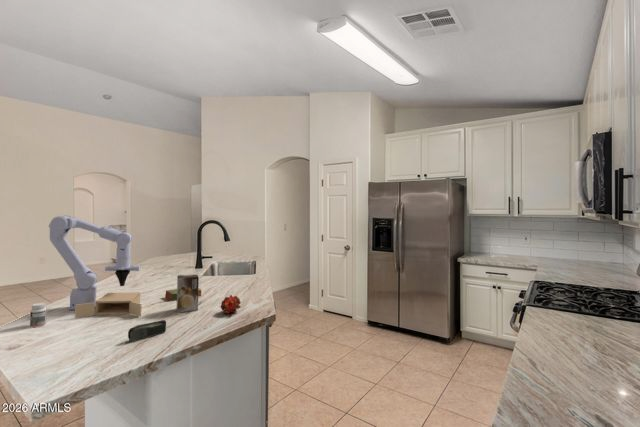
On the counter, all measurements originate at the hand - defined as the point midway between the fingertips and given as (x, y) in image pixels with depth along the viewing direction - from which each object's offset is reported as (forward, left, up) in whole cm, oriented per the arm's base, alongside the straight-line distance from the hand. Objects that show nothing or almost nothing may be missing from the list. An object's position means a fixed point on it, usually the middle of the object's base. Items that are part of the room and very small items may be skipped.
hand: (122, 285), depth 156 cm
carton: (+26, +12, -10) cm, 30 cm away
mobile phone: (+21, -42, -10) cm, 48 cm away
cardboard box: (+1, -7, -9) cm, 12 cm away
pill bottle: (-22, -24, -10) cm, 34 cm away
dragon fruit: (+51, -17, -10) cm, 55 cm away
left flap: (-9, -16, -9) cm, 21 cm away
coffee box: (+31, -10, -10) cm, 34 cm away
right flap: (+11, -17, -9) cm, 22 cm away
